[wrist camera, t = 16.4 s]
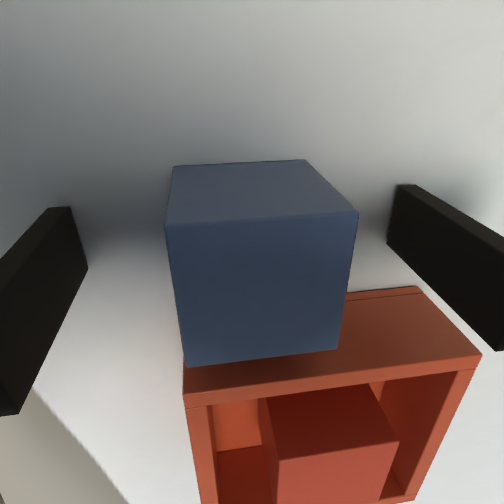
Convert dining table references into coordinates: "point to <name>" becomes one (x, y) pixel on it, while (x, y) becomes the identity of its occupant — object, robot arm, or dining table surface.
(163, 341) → the dining table surface
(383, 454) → the red block
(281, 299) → the blue block
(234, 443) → the red bin
